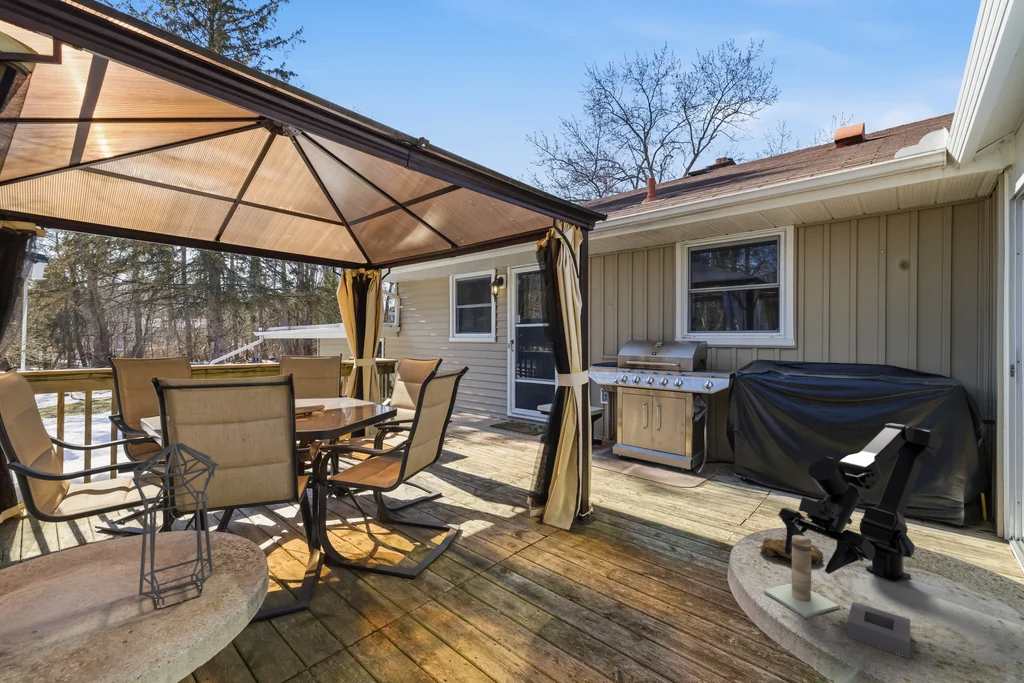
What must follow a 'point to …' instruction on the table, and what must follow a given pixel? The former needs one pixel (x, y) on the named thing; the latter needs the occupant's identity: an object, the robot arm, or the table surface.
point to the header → (879, 629)
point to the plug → (801, 568)
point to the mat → (801, 607)
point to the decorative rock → (778, 548)
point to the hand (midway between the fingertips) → (805, 562)
